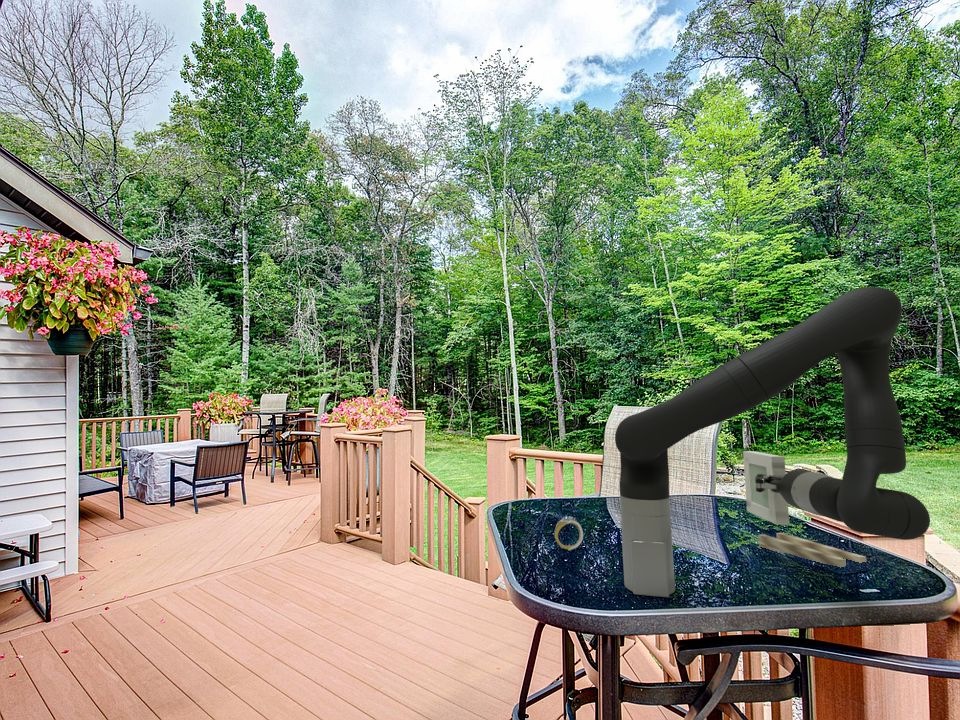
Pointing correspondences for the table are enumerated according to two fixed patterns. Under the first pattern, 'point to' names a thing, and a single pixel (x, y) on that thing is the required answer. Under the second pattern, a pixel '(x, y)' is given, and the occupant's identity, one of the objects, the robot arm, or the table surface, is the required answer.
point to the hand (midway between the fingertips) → (766, 478)
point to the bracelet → (560, 525)
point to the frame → (766, 501)
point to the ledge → (808, 549)
